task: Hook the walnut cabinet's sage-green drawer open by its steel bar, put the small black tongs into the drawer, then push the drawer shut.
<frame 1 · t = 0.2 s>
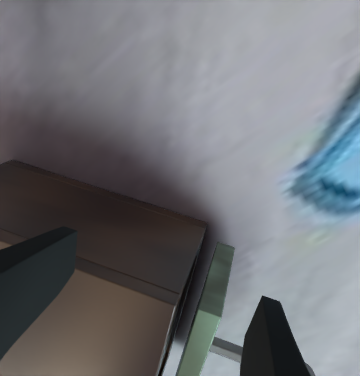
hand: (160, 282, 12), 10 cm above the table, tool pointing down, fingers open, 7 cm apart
cabinet: (96, 262, 26), on the table
drawer: (141, 324, 22), point 4 cm above the table, slide at 1.0 cm
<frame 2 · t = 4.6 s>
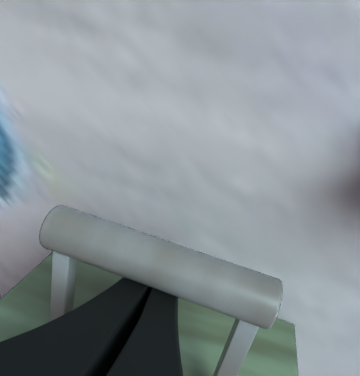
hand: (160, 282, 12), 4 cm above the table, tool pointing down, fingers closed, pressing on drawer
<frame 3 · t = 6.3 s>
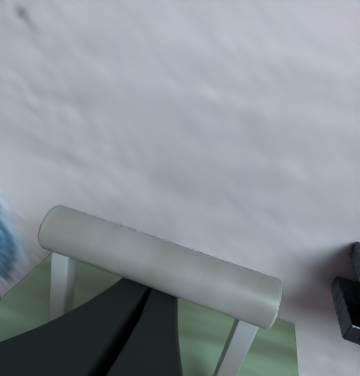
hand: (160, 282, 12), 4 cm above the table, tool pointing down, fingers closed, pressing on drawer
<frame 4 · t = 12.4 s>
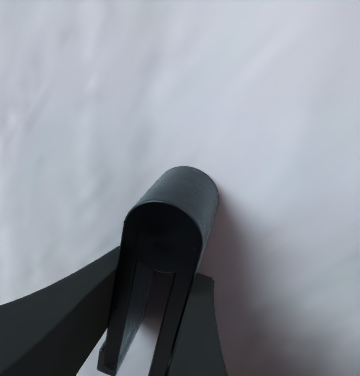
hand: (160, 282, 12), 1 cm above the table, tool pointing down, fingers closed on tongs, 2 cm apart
tongs: (171, 260, 13), on the table, touching gripper
when the fingers open (5 cm above the table, at t = 17.0 s): tongs drops 1 cm, resting on drawer.
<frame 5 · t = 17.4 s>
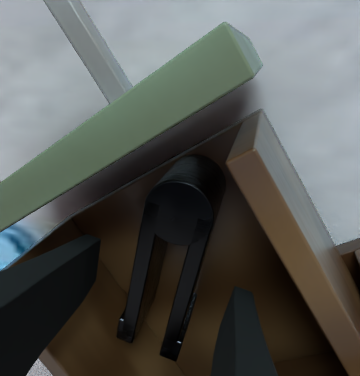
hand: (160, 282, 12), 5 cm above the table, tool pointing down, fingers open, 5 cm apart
tongs: (181, 240, 14), point 2 cm above the table, touching drawer
drawer: (152, 235, 12), point 4 cm above the table, slide at 8.7 cm, touching tongs
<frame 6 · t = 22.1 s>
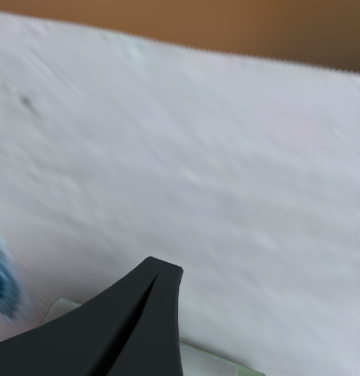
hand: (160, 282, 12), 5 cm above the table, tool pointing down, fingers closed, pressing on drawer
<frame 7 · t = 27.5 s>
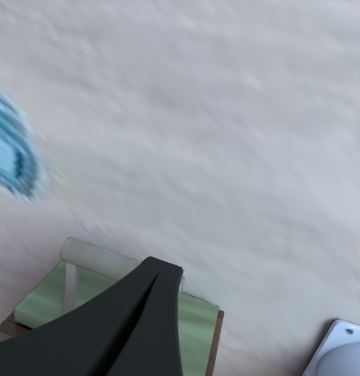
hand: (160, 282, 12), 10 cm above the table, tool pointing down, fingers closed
cabinet: (130, 345, 29), on the table
drawer: (117, 349, 24), point 4 cm above the table, slide at 0.0 cm, touching tongs
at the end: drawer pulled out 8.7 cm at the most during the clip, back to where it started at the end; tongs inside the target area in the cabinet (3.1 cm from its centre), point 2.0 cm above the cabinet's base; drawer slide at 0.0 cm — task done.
